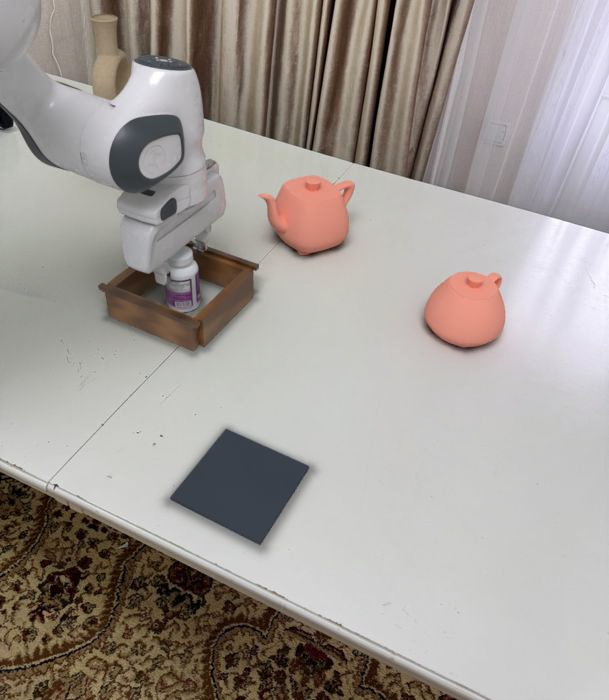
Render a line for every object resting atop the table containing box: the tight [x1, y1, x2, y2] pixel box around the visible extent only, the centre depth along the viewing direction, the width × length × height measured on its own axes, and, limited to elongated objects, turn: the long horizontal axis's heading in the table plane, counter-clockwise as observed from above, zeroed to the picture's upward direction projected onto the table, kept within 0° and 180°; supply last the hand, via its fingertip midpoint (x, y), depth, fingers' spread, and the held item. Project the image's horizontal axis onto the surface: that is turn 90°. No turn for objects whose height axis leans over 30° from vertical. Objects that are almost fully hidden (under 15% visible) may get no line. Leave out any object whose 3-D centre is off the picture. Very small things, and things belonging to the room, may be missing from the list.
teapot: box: [257, 174, 356, 256], centre depth 111 cm, size 13×20×12 cm, turn 122°
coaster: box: [169, 428, 310, 546], centre depth 74 cm, size 12×12×1 cm
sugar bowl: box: [423, 271, 506, 349], centre depth 95 cm, size 12×14×10 cm
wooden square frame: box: [97, 240, 260, 352], centre depth 97 cm, size 17×18×6 cm
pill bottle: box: [163, 246, 201, 313], centre depth 96 cm, size 5×5×10 cm
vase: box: [89, 13, 131, 100], centre depth 119 cm, size 17×17×30 cm
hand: (182, 265), depth 94 cm, fingers open, 8 cm apart
